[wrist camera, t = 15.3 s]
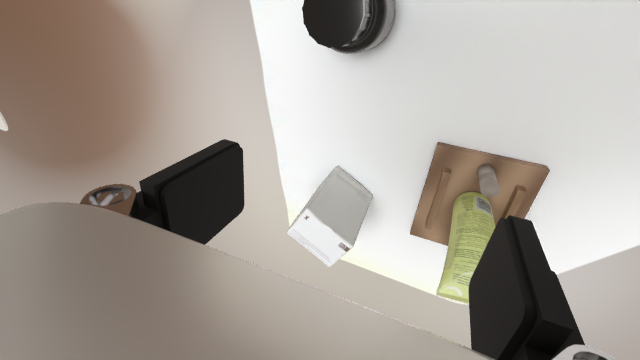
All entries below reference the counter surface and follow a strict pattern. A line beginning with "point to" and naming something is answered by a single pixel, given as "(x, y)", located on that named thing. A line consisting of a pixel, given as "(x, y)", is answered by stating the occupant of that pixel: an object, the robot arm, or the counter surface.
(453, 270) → the tube
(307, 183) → the counter surface
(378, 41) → the ink bottle
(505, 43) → the counter surface
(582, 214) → the counter surface
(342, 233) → the skincare box
